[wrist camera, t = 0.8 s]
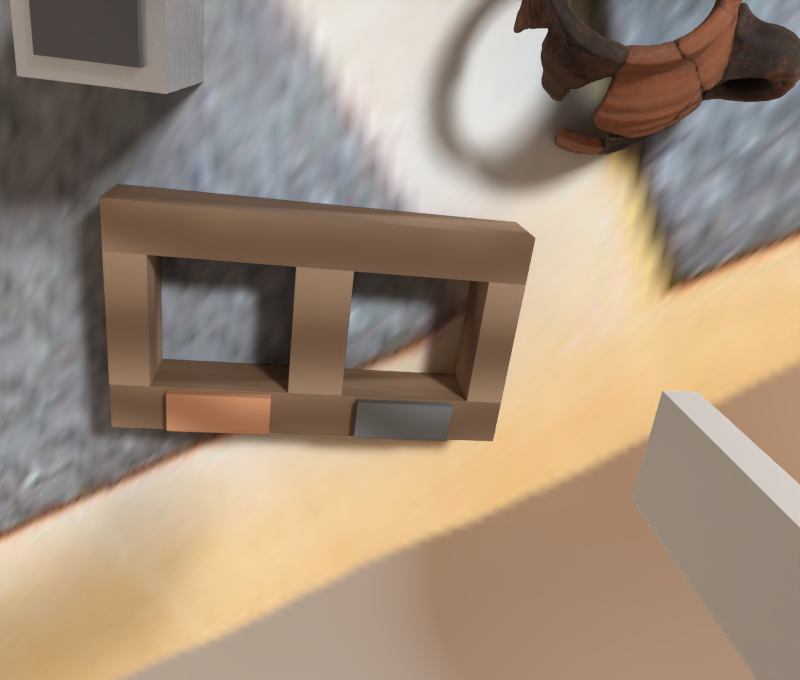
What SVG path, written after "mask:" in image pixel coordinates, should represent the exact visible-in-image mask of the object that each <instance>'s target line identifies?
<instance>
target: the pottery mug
mask: <svg viewBox="0 0 800 680" xmlns="http://www.w3.org/2000/svg"><path fill="white" fill-rule="evenodd" d="M741 1H742V0H716V2H715V4H714V7H713V9H712V11H711V12H710V14H709V15H708V17H707V18H706V19H705V20H704V21H703V22H702V23H701V24H700V25H699V26H698V27H697V28H695V29H694V30H693V31H692V32H690V33H688V34H687V35H685V36H683V37H681V38H678V39H676V40H674V41H672V42H667V43H663V44H660V45H651V46H637V45H630V46H624V45H623V44H620V43H618V42H615V41H612V40H610V39H608V38H605V37H603V36H601V35H600V34H598V33H597V32H595V31H594V30H593V29H592V28H590V27H589V26H588V25H587V24H586V23H585V22H584V21H583V20H582V19H581V17H580V16H579V15H578V13H577V12H576V10H575V9H574V7H573V5H572V3H571V1H570V0H522V3H521V7H520V9H519V11H518V13H517V17H516V21H515V25H514V32H515V33H520V32H521V31H523V30H524V29H528V28H530V29H536V28H548V33H547V35H546V37H545V39H544V41H543V43H542V51H541V62H542V66H543V75H542V79H541V80H542V86H543V88H544V89H545V90H546V92H547V93H548V94H549V95H550V96H551V98H552V99H554V100H555V101H558V102H559V101H562V100H563V99H564V98H565V96H566V95H567V94H568V93H569V92H570V90H571V89H578V88H581V87H583V86H585V85H587V84H589V83H591V82H594V81H597V80H600V79H603V78H606V77H610V76H612V80H611V83H610V86H609V88H608V90H607V93H606V95H605V97H604V99H603V101H602V103H601V104H600V105H599V106H598V108H597V109H596V110H595V113H594V115H593V118H594V122H595V125H596V126H597V128H598V129H600V130H604V131H609V132H608V135H607V137H606V138H604V139H601V138H596V137H591V136H587V135H584V134H580V133H578V132H575V131H572V130H569V129H567V128H564V129H562V130H561V131H560V132H559V135H558V136H557V138H556V140H555V144H556V145H557V146H559V147H561V148H563V149H566V150H568V151H572V152H576V153H581V154H607V153H611V152H615V151H619V150H621V149H624V148H627V147H629V146H630V145H632V144H635V143H637V142H640V141H642V140H644V139H645V138H647V137H650V136H653V135H655V134H657V133H659V132H661V131H663V130H665V129H667V128H669V127H671V126H672V125H674V124H676V123H677V122H679V121H680V120H682V119H683V118H685V117H686V116H687V115H689V114H690V113H692V112H693V111H694V110H695V109H696V108H697V107H698V106H699V105H700V103H701V102H702V101H703V100H710V99H724V100H732V101H743V102H757V101H769V100H773V99H777V98H780V97H782V96H783V95H785V94H786V93H787V92H788V91H789V90H790V89H791V88H793V87H794V86H795V84H796V82H797V81H798V80H799V79H800V39H799V38H798V36H797V35H796V34H795V33H793V32H792V31H790V30H788V29H787V28H785V27H782V26H779V25H776V24H771V23H767V22H764V21H762V20H760V19H758V18H757V17H756V16H755V15H754V14H753V13H752V12H751V11H750V9H749V7H748V5H747V4H746V3H741Z"/></svg>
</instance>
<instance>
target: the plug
mask: <svg viewBox="0 0 800 680" xmlns="http://www.w3.org/2000/svg"><path fill="white" fill-rule="evenodd" d="M10 7H11V18H12V29H13V39H14V50H15V60H16V71H17V76H21V77H29V78H38V79H46V80H54V81H62V82H71V83H79V84H87V85H96V86H104V87H112V88H121V89H129V90H137V91H146V92H154V93H162V94H168V93H171V92H174V91H177V90H180V89H183V88H186V87H189V86H192V85H195V84H198V83H201V82H203V46H204V0H10Z"/></svg>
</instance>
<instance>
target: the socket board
mask: <svg viewBox="0 0 800 680" xmlns="http://www.w3.org/2000/svg"><path fill="white" fill-rule="evenodd" d="M99 201H100V220H101V238H102V257H103V276H104V295H105V314H106V333H107V352H108V371H109V389H110V408H111V427H121V428H149V429H167V431H183V432H211V433H238V434H266V435H269V433H285V434H312V435H340V436H354V438H376V439H404V440H432V441H447V439H449V440H476V441H493V438H494V433H495V428H496V423H497V419H498V414H499V409H500V404H501V400H502V395H503V390H504V385H505V380H506V376H507V371H508V366H509V361H510V357H511V352H512V347H513V342H514V338H515V333H516V328H517V323H518V318H519V314H520V309H521V304H522V299H523V295H524V290H525V285H526V280H527V276H528V271H529V266H530V261H531V256H532V252H533V247H534V242H535V237H533V236H532V235H531V234H530V233H529V232H527V231H526V230H525V229H524V228H522V227H521V226H520V225H519V224H518V223H516V222H506V221H496V220H485V219H475V218H465V217H454V216H444V215H434V214H423V213H413V212H403V211H392V210H382V209H372V208H361V207H351V206H340V205H330V204H320V203H309V202H299V201H289V200H278V199H268V198H258V197H247V196H237V195H227V194H216V193H206V192H196V191H185V190H175V189H164V188H154V187H144V186H133V185H123V184H117V185H116V186H115V187H113V188H112V189H110V190H109V191H108V192H106V193H105V194H104V195H102V196H101V197H99ZM161 256H167V257H180V258H192V259H205V260H217V261H230V262H242V263H255V264H267V265H280V266H293V267H296V271H295V286H294V301H293V317H292V332H291V347H290V362H289V366H283V365H265V364H246V363H228V362H209V361H191V360H172V359H162V309H161ZM354 271H355V272H368V273H380V274H393V275H405V276H418V277H431V278H443V279H456V280H468V281H471V285H470V290H469V296H468V302H467V308H466V313H465V319H464V325H463V330H462V336H461V342H460V348H459V353H458V359H457V365H456V370H455V375H449V374H431V373H412V372H394V371H375V370H357V369H344V365H345V356H346V346H347V336H348V326H349V316H350V307H351V297H352V287H353V277H354Z"/></svg>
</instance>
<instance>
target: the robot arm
mask: <svg viewBox="0 0 800 680" xmlns="http://www.w3.org/2000/svg"><path fill="white" fill-rule="evenodd" d="M631 500H632V502H633V503H634V505H635V506H636V508H637V509H638V511H639V512H640V513H641V515H642V516H643V518H644V519H645V521H646V522H647V523H648V525H649V526H650V528H651V529H652V531H653V532H654V533H655V535H656V536H657V538H658V539H659V541H660V542H661V543H662V545H663V546H664V548H665V549H666V550H667V552H668V553H669V555H670V556H671V557H672V559H673V561H674V562H675V564H676V565H677V566H678V568H679V569H680V571H681V572H682V573H683V575H684V576H685V578H686V579H687V581H688V582H689V583H690V585H691V586H692V588H693V589H694V591H695V592H696V593H697V595H698V596H699V598H700V599H701V601H702V602H703V604H704V605H705V606H706V608H707V609H708V611H709V612H710V613H711V615H712V616H713V618H714V619H715V621H716V622H717V624H718V625H719V626H720V628H721V629H722V631H723V632H724V634H725V635H726V637H727V638H728V639H729V641H730V642H731V644H732V645H733V646H734V648H735V649H736V651H737V652H738V654H739V655H740V657H741V658H742V659H743V661H744V662H745V664H746V665H747V667H748V668H749V669H750V671H751V672H752V674H753V675H754V677H755V678H756V679H757V680H800V485H799V484H798V483H797V482H796V481H795V480H794V479H793V478H792V477H790V476H789V475H788V474H787V473H786V472H785V471H784V470H783V469H782V468H781V467H780V466H779V465H777V464H776V463H775V462H774V461H773V460H772V459H771V458H770V457H769V456H768V455H766V454H765V453H764V452H763V451H762V450H761V449H760V448H759V447H757V445H755V444H754V443H753V442H752V441H751V440H750V439H749V438H748V437H747V436H746V435H744V434H743V433H742V432H741V431H740V430H739V429H738V428H737V427H736V426H735V425H733V424H732V423H731V422H730V421H729V420H728V419H727V418H726V417H725V416H724V415H722V414H721V413H720V412H719V411H718V410H717V409H716V408H715V407H714V406H713V405H712V404H710V403H709V402H708V401H707V400H706V399H705V398H704V397H703V396H702V395H701V394H699V393H698V392H697V391H662V395H661V398H660V402H659V405H658V409H657V412H656V416H655V419H654V422H653V426H652V429H651V433H650V436H649V440H648V443H647V447H646V450H645V454H644V458H643V461H642V465H641V468H640V472H639V475H638V478H637V482H636V485H635V489H634V493H633V496H632V499H631Z"/></svg>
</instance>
